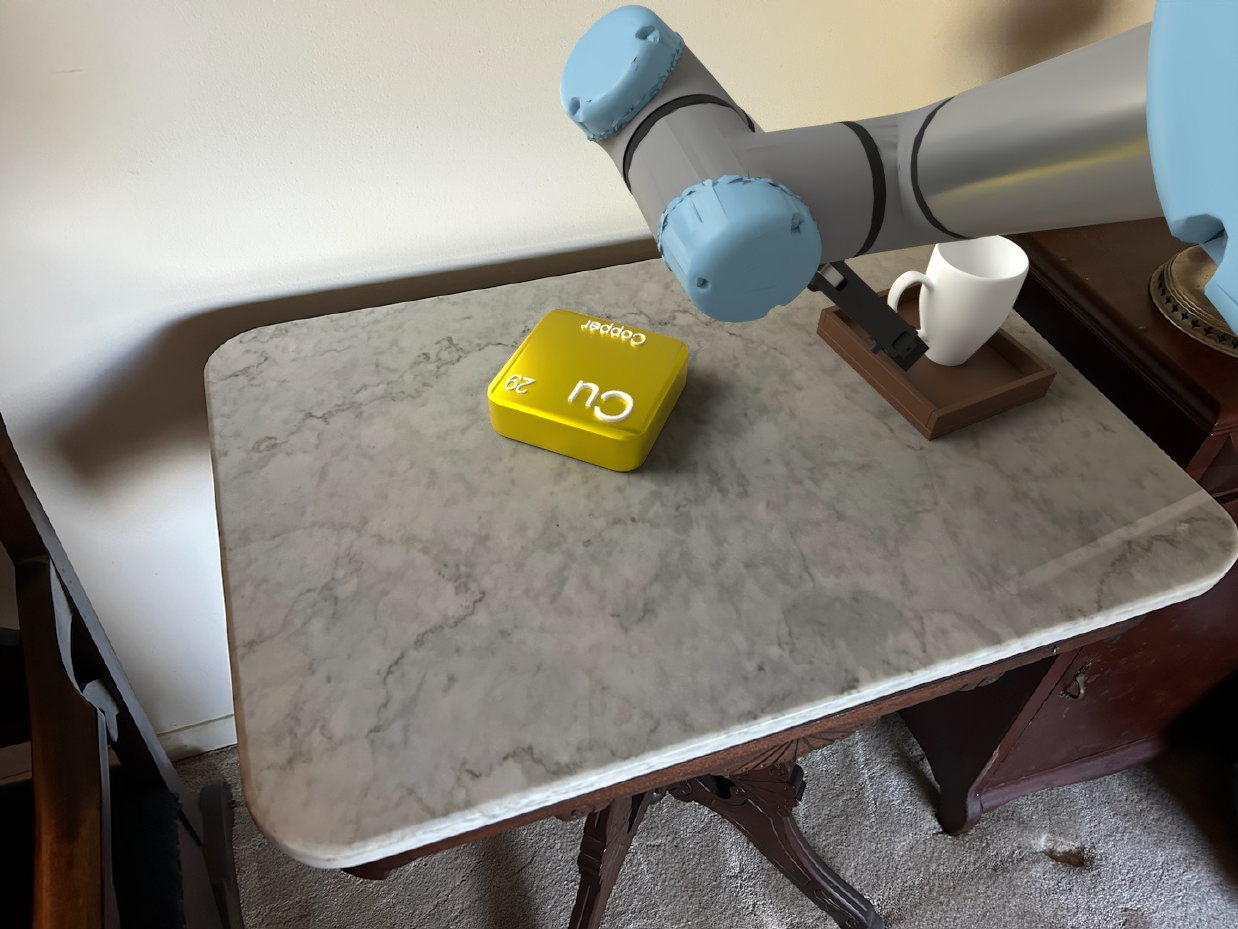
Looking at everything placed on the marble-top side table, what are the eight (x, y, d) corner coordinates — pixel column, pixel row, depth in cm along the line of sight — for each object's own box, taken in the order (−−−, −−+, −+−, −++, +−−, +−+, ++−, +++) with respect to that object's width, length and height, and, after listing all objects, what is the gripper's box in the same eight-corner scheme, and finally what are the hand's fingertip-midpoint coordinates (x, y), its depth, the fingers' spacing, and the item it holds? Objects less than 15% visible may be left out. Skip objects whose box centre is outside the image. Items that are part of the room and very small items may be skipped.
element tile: (691, 375, 83) (695, 336, 79) (636, 479, 73) (637, 440, 70) (553, 337, 87) (551, 299, 83) (483, 431, 77) (477, 392, 73)
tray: (1045, 395, 82) (1058, 371, 80) (928, 441, 77) (937, 417, 75) (925, 297, 92) (933, 274, 90) (815, 332, 88) (821, 309, 86)
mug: (964, 323, 88) (1002, 225, 79) (1003, 374, 82) (1048, 275, 74) (855, 335, 86) (882, 236, 78) (888, 388, 80) (921, 288, 72)
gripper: (625, 158, 68) (758, 273, 83) (804, 331, 52) (926, 432, 68) (687, 79, 65) (812, 213, 81) (894, 236, 50) (998, 363, 66)
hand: (864, 313), depth 74 cm, fingers open, 13 cm apart
